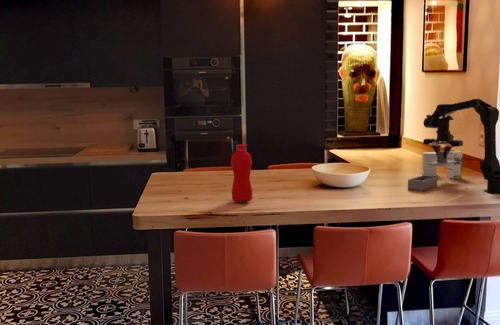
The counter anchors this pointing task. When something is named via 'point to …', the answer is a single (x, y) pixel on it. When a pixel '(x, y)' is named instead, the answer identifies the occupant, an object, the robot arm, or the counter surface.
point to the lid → (441, 160)
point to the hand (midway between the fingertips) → (442, 159)
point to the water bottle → (241, 174)
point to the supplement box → (429, 158)
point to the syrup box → (454, 165)
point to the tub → (422, 183)
